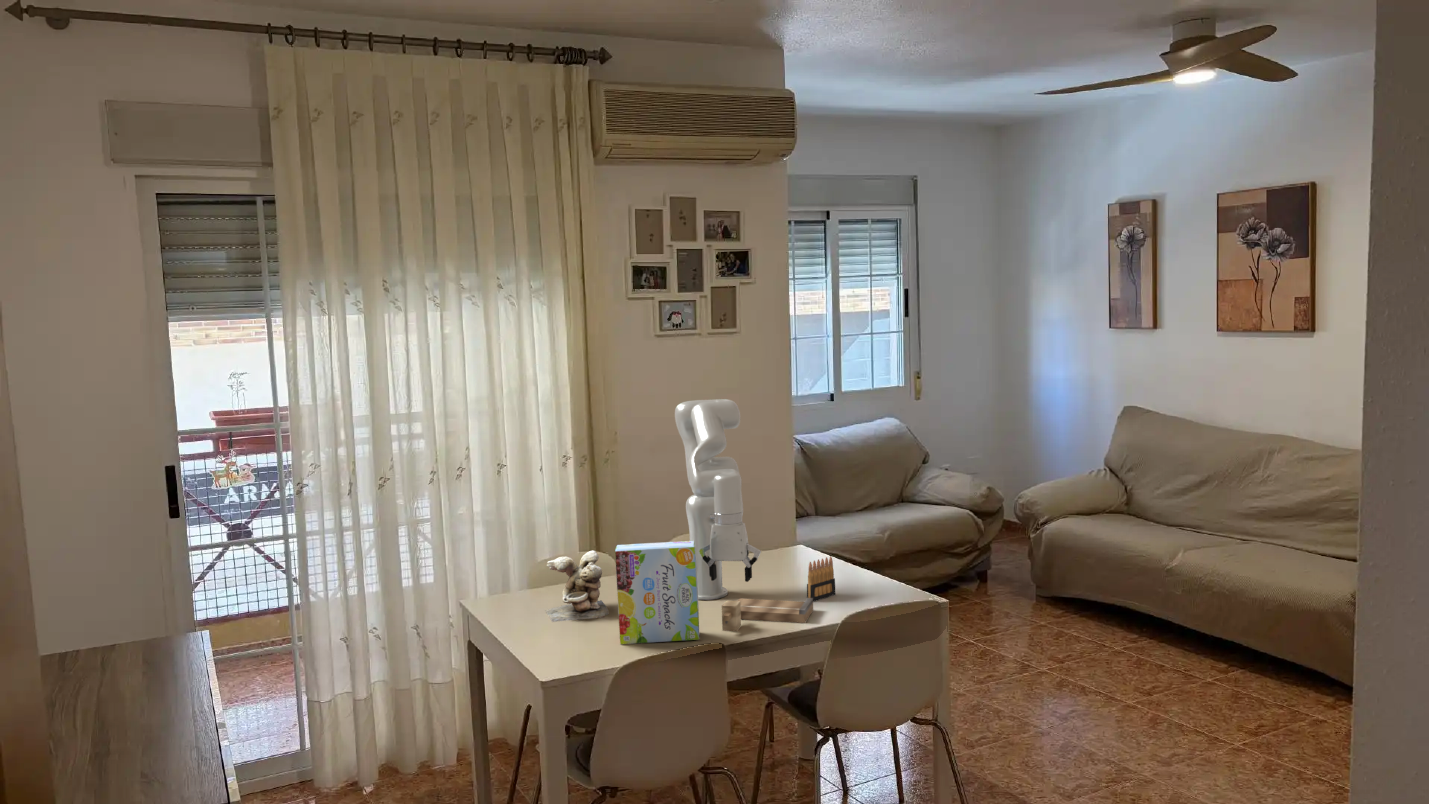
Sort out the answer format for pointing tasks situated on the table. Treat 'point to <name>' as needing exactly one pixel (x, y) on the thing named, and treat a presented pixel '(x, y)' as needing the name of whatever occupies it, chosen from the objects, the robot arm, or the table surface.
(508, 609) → the table surface
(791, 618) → the board
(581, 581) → the cherub figurine
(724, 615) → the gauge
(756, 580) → the table surface
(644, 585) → the snack box
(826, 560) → the ammunition clip
